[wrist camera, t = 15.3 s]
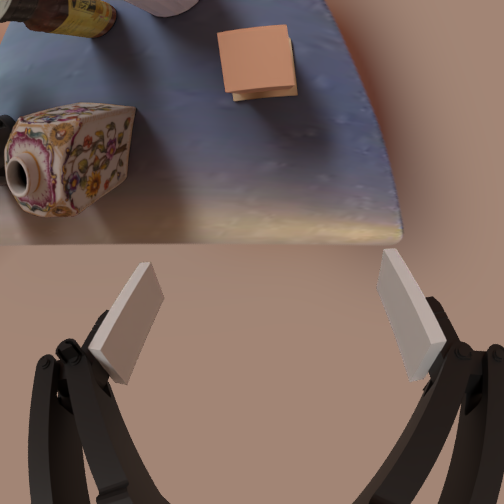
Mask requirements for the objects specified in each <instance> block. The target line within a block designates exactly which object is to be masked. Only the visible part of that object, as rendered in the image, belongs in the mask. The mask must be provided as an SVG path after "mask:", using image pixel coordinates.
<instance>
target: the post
mask: <svg viewBox="0 0 504 504" xmlns="http://www.w3.org/2000/svg"><path fill="white" fill-rule="evenodd" d="M289 45H290V52H291V59H292V66H293V74H294V82H295V86H293V87H292V88H291V89H289V90H275V91H264V92H254V93H246V94H235V93H233V100H234V101H240V100H248V99H257V98H267V97H279V96H295V95H298V93H297V84H296V76H295V68H294V60H293V53H292V46H291V39H290V38H289Z"/></svg>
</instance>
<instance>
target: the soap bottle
mask: <svg viewBox="0 0 504 504" xmlns="http://www.w3.org/2000/svg"><path fill="white" fill-rule="evenodd" d="M124 1H126V2H128V3H131V4H133V5H135V6H137V7H139V8H141V9H143V10H145V11H147V12H149V13H151V14H153V15H155V16H160V17H169V16H174V15H178V14H180V13H182V12H185V11H187V10H189V9H190V8H191V7H192V6H194V5H195V4H196V3H197V2H198V1H199V0H124Z"/></svg>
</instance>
